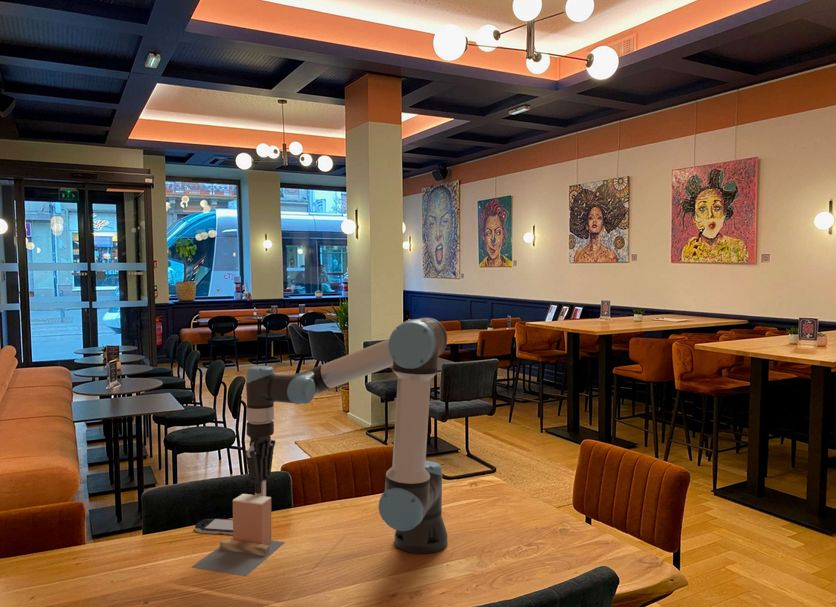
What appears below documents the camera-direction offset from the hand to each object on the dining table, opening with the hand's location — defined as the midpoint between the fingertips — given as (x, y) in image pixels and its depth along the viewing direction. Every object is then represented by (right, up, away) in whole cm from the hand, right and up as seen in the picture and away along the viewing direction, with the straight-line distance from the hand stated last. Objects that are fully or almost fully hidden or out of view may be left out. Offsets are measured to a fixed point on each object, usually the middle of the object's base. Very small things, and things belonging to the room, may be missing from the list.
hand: (260, 502), depth 170 cm
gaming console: (-12, -11, +7) cm, 18 cm away
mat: (-3, -11, -10) cm, 15 cm away
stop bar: (-2, -11, -8) cm, 13 cm away
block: (-1, -10, -4) cm, 11 cm away
